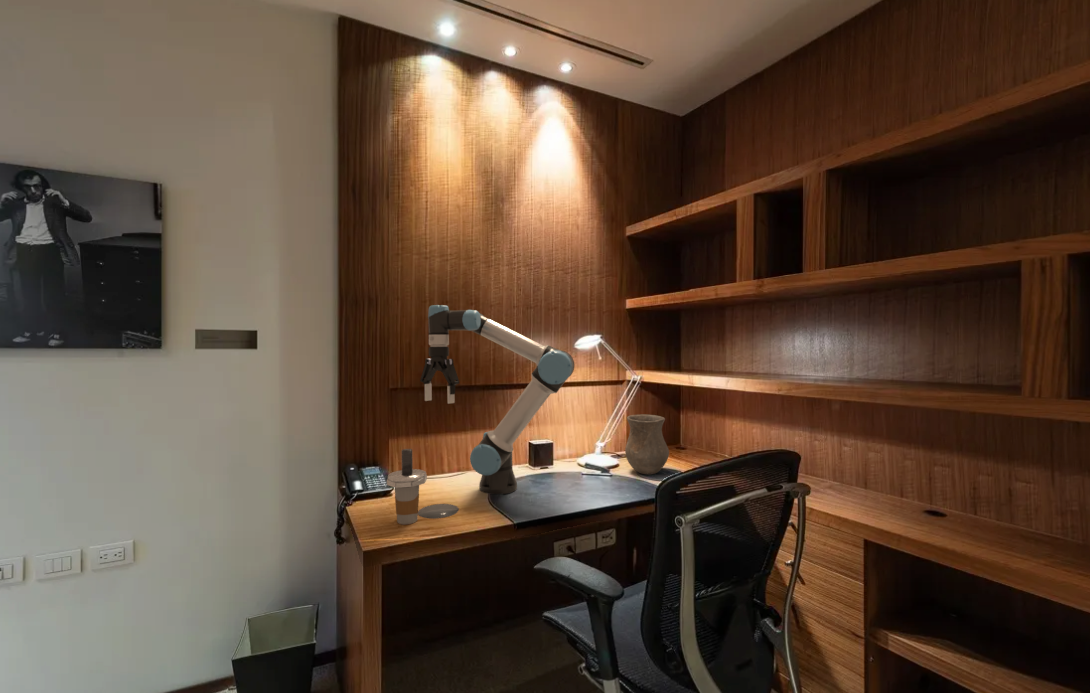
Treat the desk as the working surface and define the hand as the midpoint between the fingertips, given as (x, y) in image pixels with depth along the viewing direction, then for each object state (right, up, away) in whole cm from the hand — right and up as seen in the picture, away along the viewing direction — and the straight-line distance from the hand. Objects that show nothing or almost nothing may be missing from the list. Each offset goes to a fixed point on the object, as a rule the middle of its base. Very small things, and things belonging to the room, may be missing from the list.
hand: (439, 401), depth 176 cm
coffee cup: (-5, -37, -23) cm, 44 cm away
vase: (+86, -36, +33) cm, 99 cm away
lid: (-5, -24, -24) cm, 34 cm away
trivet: (+3, -37, -14) cm, 40 cm away
